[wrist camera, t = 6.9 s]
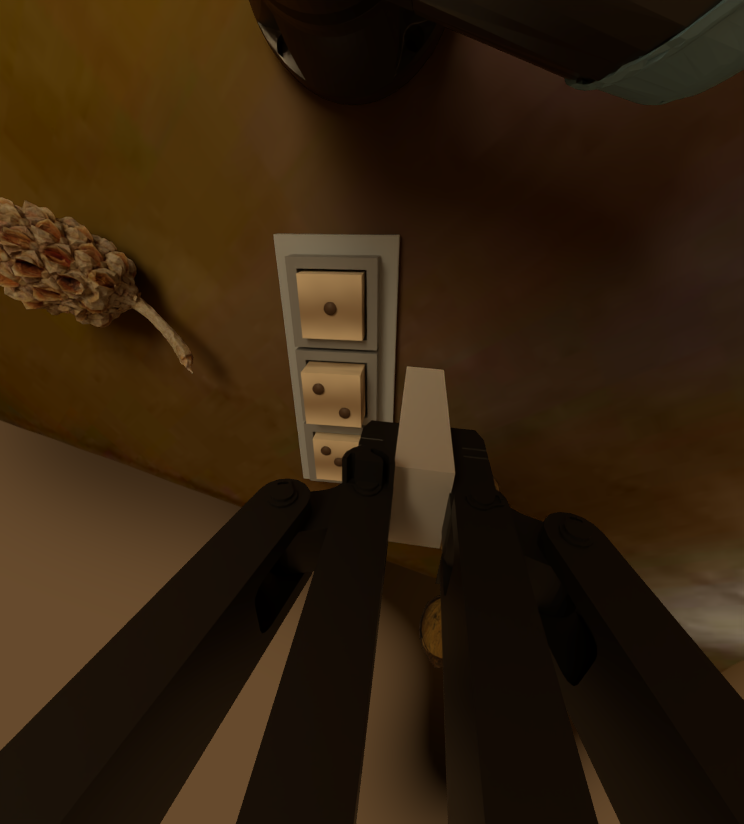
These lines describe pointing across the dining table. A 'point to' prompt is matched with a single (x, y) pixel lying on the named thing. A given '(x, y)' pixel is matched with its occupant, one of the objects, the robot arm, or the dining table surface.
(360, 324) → the tan square block
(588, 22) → the robot arm
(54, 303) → the pine cone
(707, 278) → the dining table surface
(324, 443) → the tile
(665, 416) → the dining table surface
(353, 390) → the tile
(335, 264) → the button board
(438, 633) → the wooden mug
